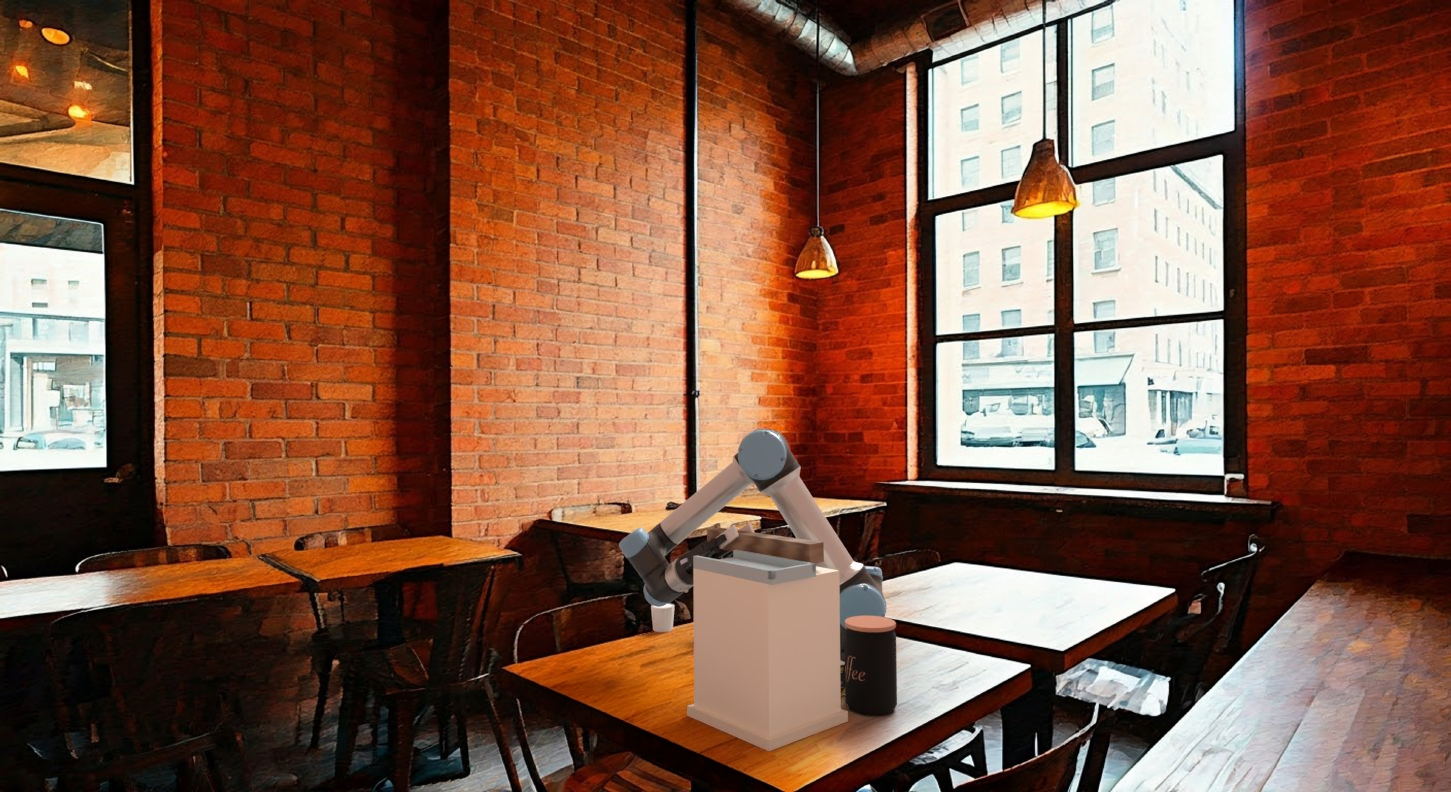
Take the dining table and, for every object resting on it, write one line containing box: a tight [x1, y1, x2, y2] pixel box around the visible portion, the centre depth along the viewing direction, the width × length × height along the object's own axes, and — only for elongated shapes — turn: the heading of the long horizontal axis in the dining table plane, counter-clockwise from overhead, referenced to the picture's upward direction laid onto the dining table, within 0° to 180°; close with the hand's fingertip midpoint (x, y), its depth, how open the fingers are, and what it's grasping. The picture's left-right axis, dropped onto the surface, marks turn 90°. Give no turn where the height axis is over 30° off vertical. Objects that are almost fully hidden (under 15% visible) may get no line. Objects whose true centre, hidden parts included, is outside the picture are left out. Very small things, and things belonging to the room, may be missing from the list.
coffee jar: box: [844, 616, 898, 717], centre depth 169 cm, size 11×11×18 cm
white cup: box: [650, 602, 675, 633], centre depth 233 cm, size 7×7×7 cm
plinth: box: [686, 566, 849, 752], centre depth 164 cm, size 24×22×30 cm
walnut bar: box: [706, 527, 824, 563], centre depth 174 cm, size 32×4×4 cm, turn 41°
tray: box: [693, 550, 816, 585], centre depth 161 cm, size 23×12×2 cm, turn 41°
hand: (743, 529), depth 178 cm, fingers closed on walnut bar, 4 cm apart
